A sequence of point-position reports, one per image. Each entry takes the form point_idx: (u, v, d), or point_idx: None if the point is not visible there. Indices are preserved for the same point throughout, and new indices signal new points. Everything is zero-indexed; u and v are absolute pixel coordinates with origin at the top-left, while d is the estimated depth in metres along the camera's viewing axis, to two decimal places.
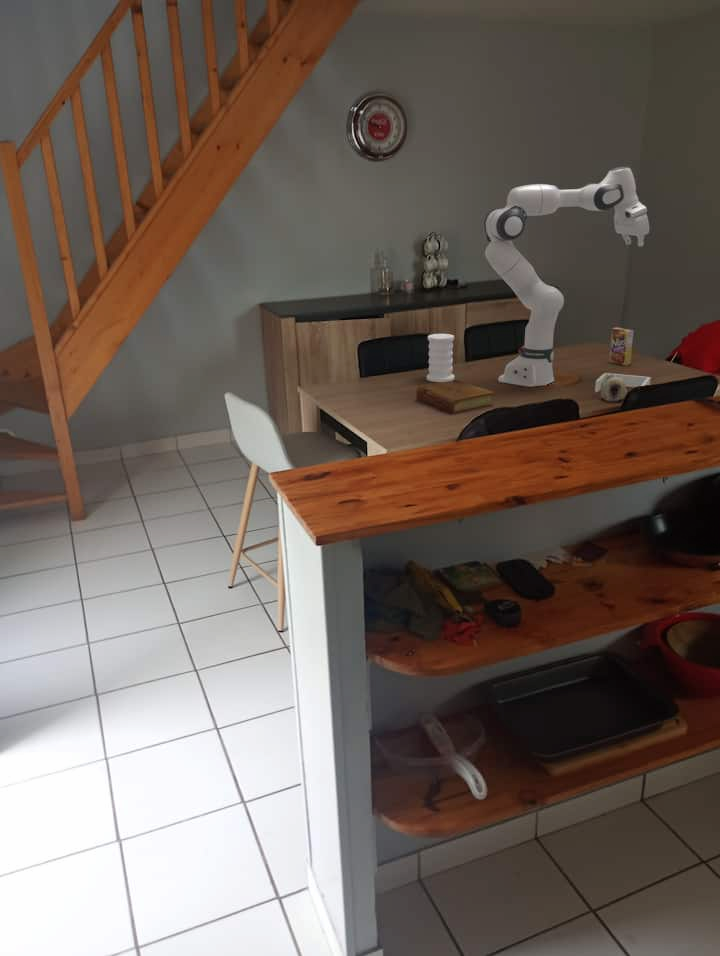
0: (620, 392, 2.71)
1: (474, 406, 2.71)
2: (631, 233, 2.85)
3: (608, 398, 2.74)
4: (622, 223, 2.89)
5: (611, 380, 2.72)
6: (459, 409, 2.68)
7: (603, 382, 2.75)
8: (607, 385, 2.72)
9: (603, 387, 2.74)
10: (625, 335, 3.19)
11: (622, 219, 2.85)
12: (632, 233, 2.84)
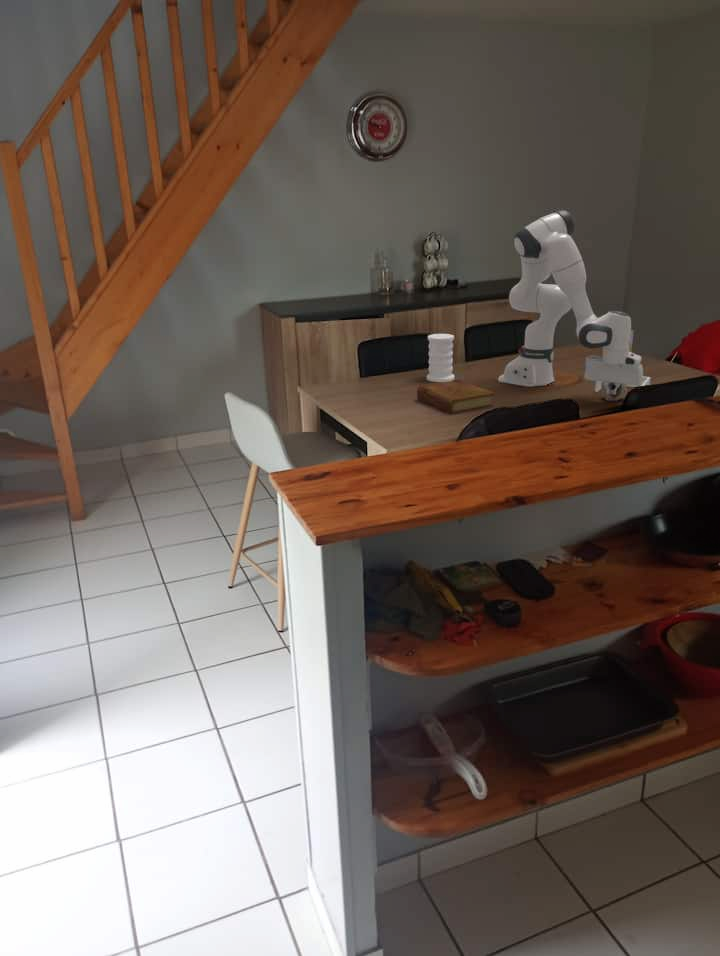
0: (620, 391, 2.72)
1: (473, 406, 2.70)
2: (619, 381, 2.67)
3: (608, 397, 2.74)
4: (603, 370, 2.69)
5: None
6: (458, 409, 2.68)
7: None
8: None
9: (603, 386, 2.75)
10: None
11: (614, 365, 2.65)
12: (621, 381, 2.67)
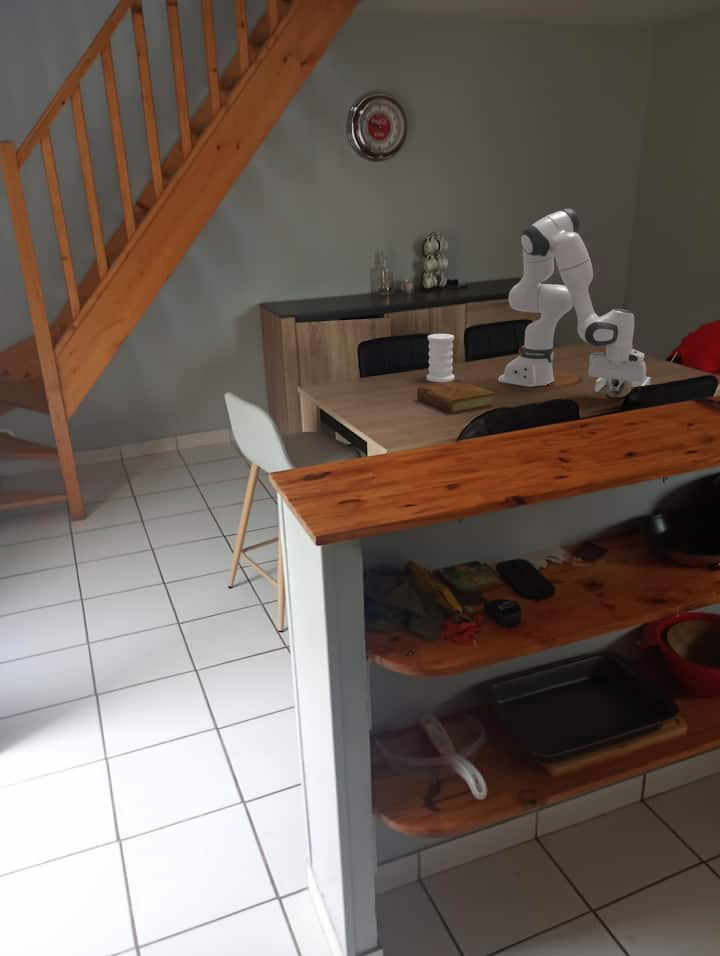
0: (623, 389, 2.75)
1: (473, 406, 2.70)
2: (623, 378, 2.71)
3: (611, 394, 2.78)
4: (607, 366, 2.73)
5: None
6: (458, 409, 2.68)
7: None
8: None
9: (608, 383, 2.79)
10: None
11: (617, 362, 2.69)
12: (624, 378, 2.71)
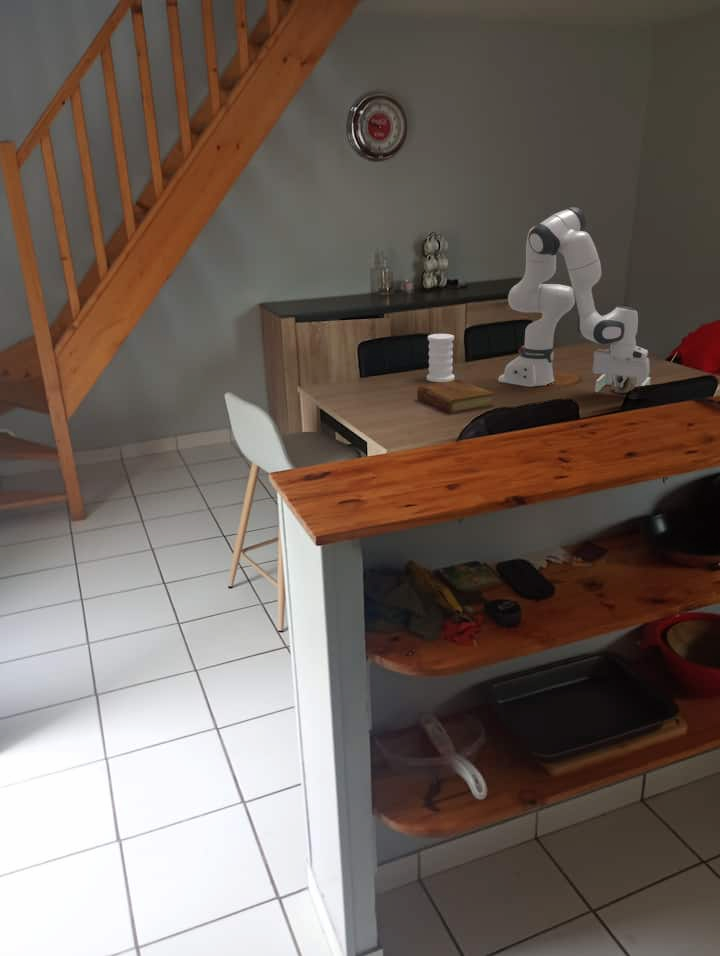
0: (628, 384, 2.81)
1: (473, 406, 2.70)
2: (627, 374, 2.76)
3: (617, 390, 2.84)
4: (611, 363, 2.77)
5: None
6: (457, 409, 2.68)
7: None
8: (616, 377, 2.83)
9: None
10: None
11: (621, 359, 2.74)
12: (628, 374, 2.76)
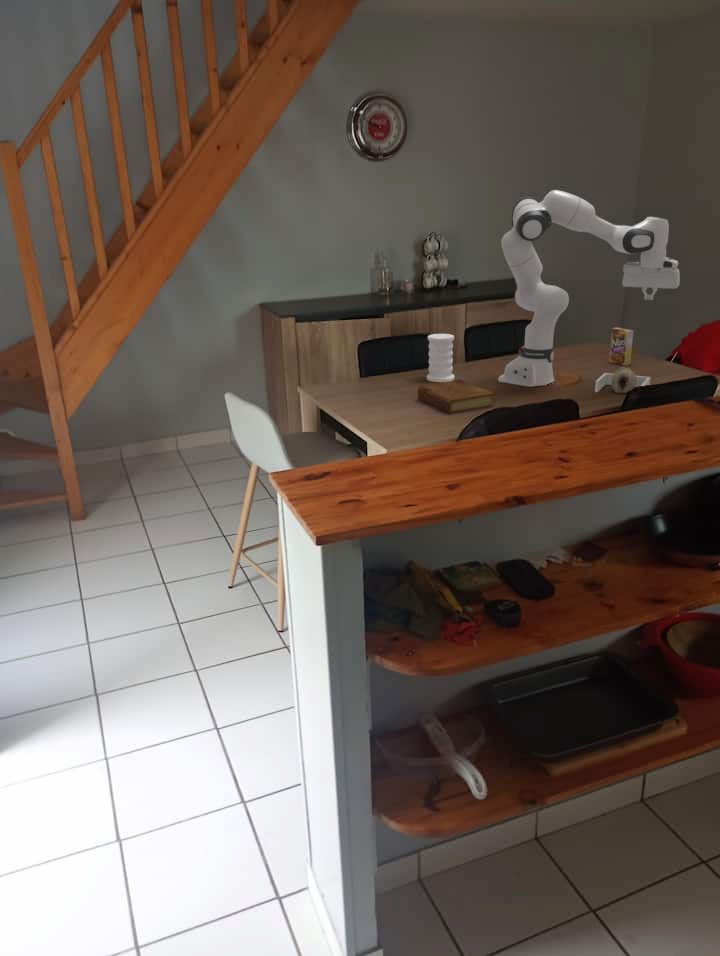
0: (628, 384, 2.81)
1: (472, 406, 2.70)
2: (657, 285, 2.78)
3: (617, 390, 2.84)
4: (641, 275, 2.79)
5: (620, 372, 2.82)
6: (456, 409, 2.68)
7: (614, 374, 2.86)
8: (616, 377, 2.83)
9: (613, 379, 2.85)
10: (625, 335, 3.19)
11: (652, 270, 2.76)
12: (658, 286, 2.77)
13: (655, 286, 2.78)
